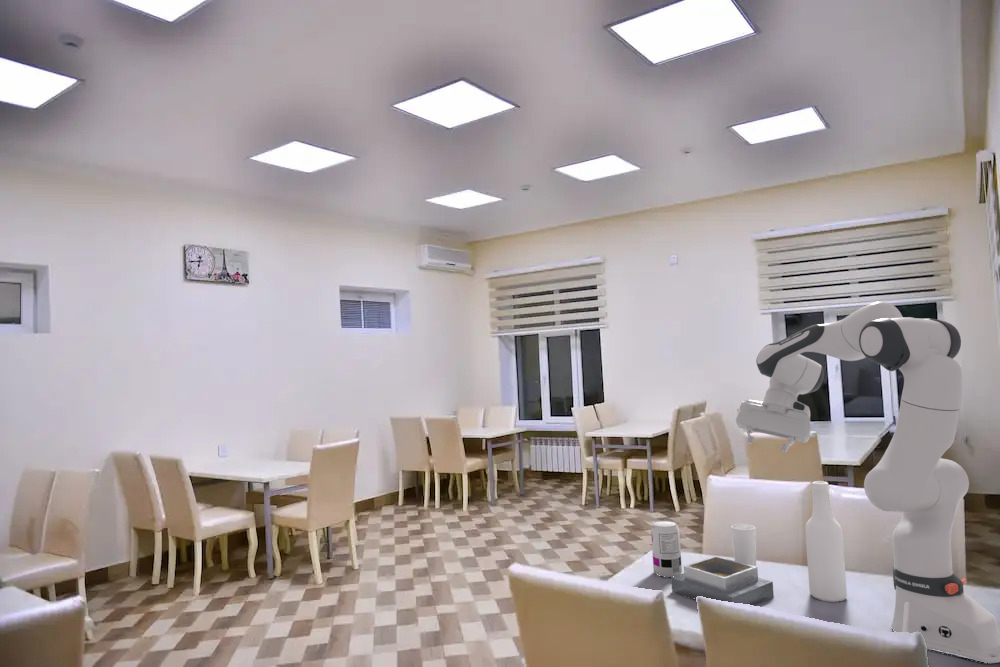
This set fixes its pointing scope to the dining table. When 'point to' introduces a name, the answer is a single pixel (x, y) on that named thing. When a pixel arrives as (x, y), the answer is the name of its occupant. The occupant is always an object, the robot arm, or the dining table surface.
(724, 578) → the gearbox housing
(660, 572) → the supplement can
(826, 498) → the white bottle
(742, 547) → the drinking glass
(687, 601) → the dining table surface
